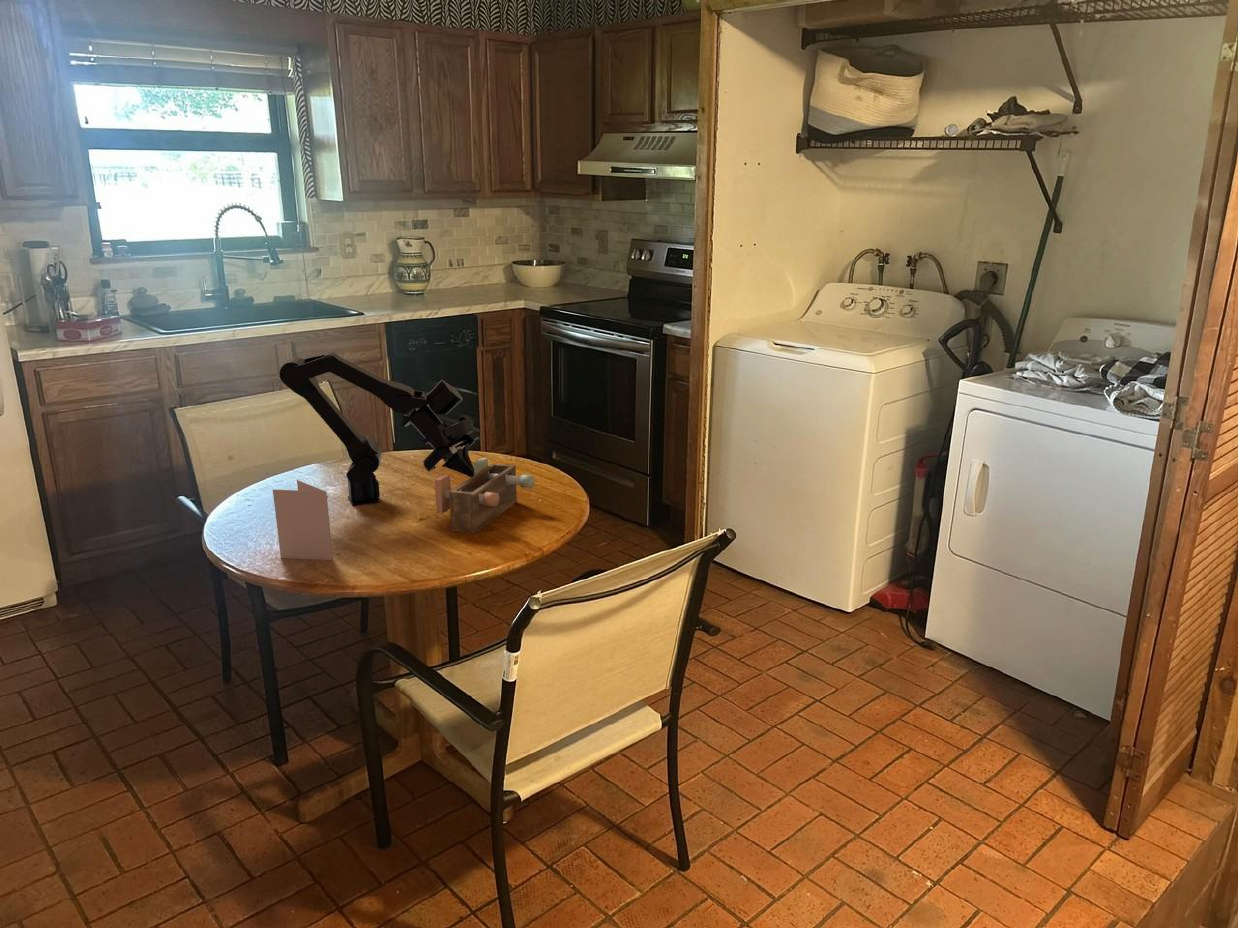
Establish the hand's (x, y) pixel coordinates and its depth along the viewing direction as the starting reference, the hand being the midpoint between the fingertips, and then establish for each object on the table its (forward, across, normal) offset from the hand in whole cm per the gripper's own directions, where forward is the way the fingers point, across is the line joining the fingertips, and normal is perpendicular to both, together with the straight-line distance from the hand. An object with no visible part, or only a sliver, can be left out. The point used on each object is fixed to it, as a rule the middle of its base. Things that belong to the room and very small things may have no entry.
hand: (475, 476), depth 221 cm
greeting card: (-8, -41, +18) cm, 45 cm away
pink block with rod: (+7, -14, -1) cm, 15 cm away
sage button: (+8, 0, -3) cm, 9 cm away
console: (+9, -7, +1) cm, 11 cm away
